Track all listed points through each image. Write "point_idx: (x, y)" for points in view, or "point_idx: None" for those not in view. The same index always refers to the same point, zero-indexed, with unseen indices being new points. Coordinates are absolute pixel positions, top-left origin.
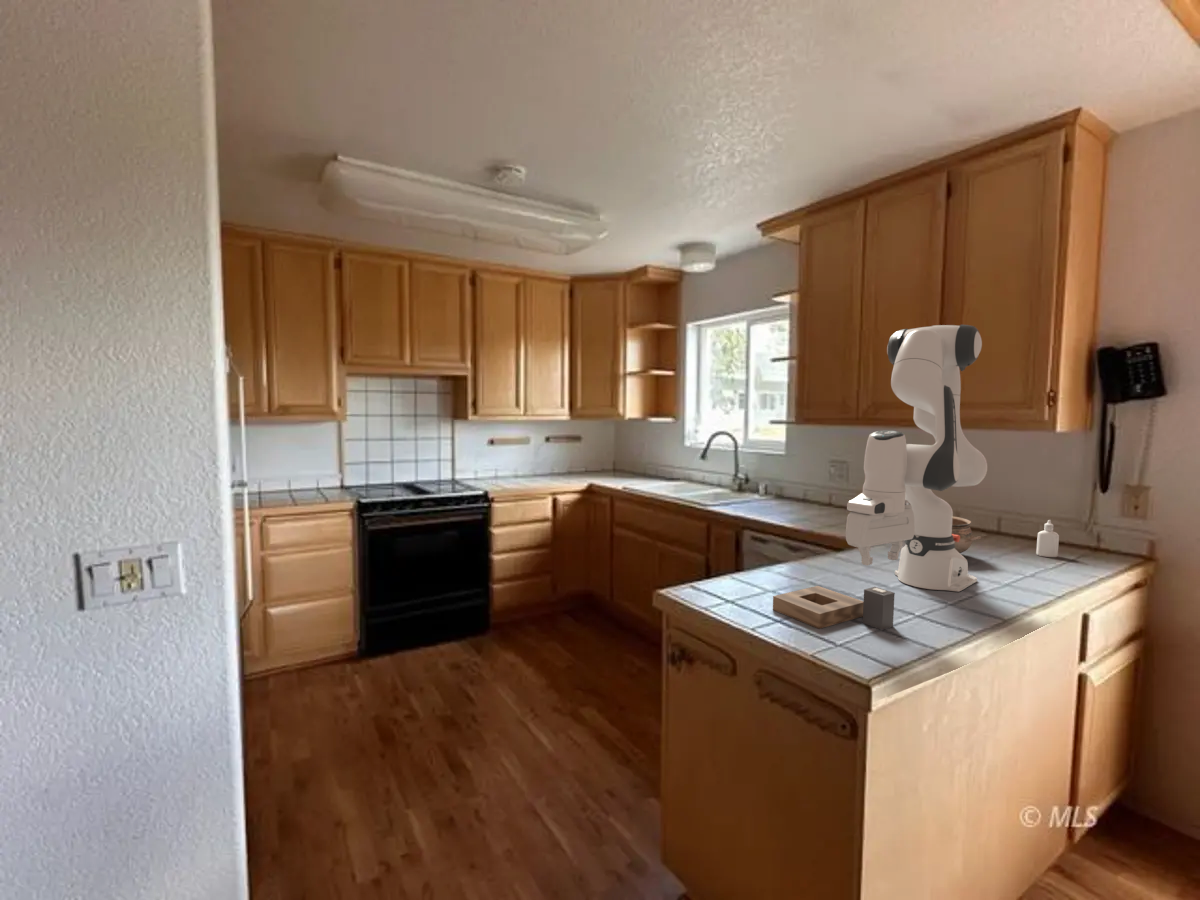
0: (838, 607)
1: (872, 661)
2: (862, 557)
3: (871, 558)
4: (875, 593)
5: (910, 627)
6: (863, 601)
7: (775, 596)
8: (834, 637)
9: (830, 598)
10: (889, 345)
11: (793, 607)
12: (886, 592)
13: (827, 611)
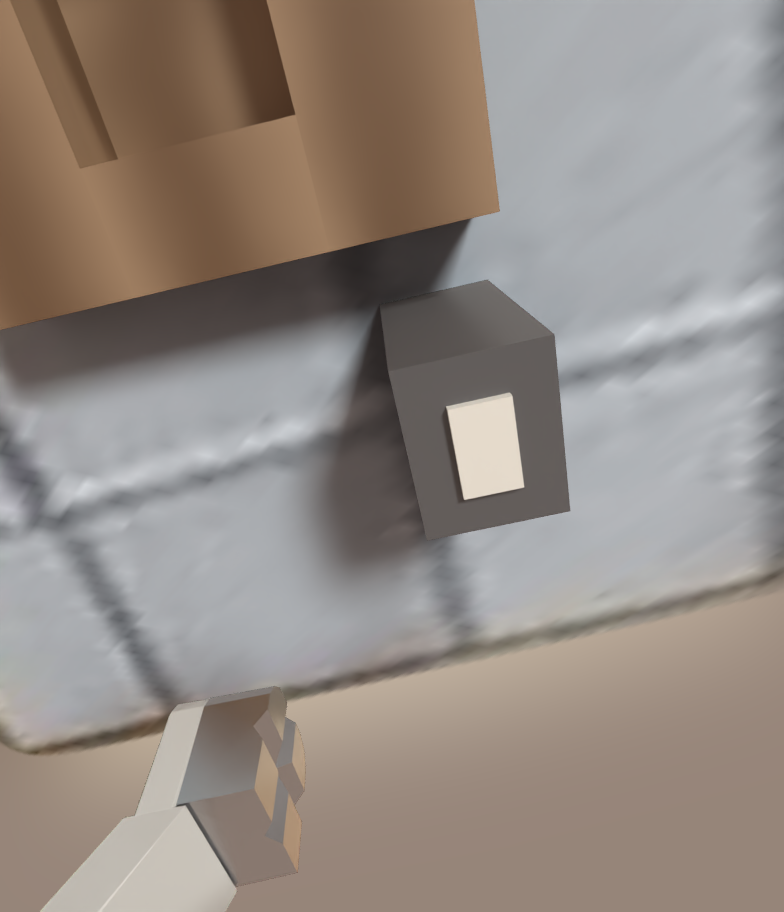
0: (198, 260)
1: (122, 665)
2: (145, 809)
3: (267, 864)
4: (413, 474)
5: (583, 440)
6: (495, 199)
7: None
8: (77, 438)
9: (268, 2)
10: None
11: None
12: (514, 488)
13: (63, 310)
